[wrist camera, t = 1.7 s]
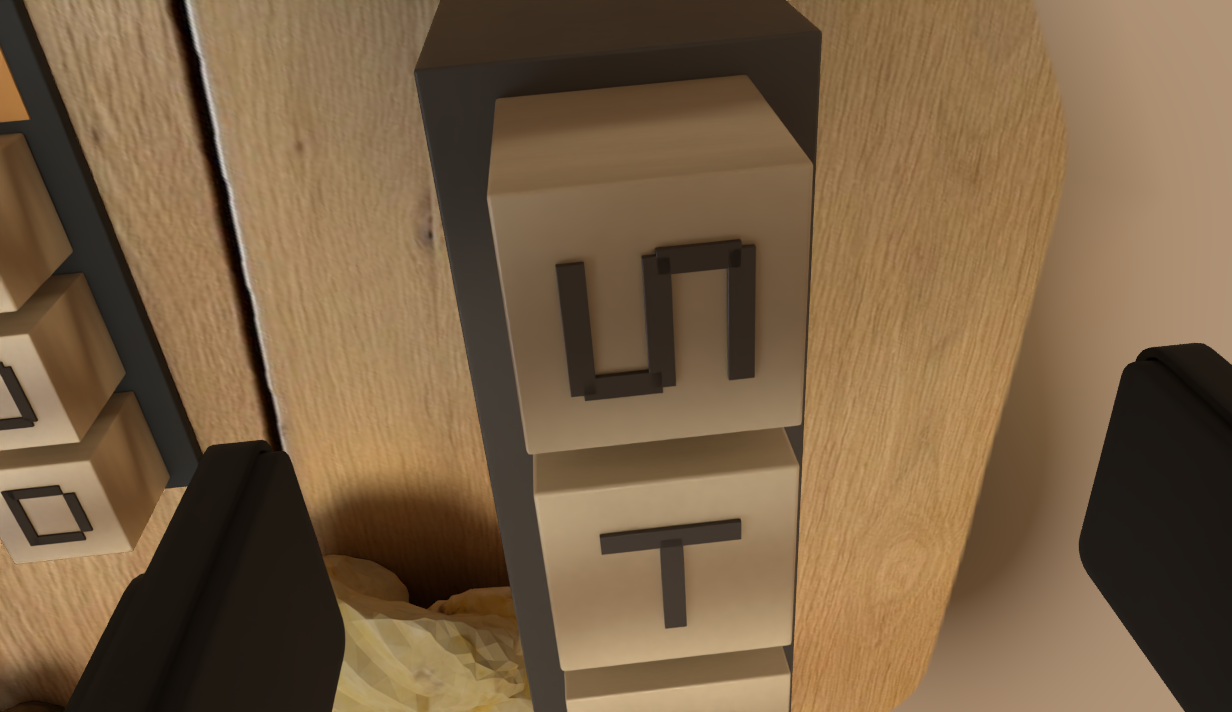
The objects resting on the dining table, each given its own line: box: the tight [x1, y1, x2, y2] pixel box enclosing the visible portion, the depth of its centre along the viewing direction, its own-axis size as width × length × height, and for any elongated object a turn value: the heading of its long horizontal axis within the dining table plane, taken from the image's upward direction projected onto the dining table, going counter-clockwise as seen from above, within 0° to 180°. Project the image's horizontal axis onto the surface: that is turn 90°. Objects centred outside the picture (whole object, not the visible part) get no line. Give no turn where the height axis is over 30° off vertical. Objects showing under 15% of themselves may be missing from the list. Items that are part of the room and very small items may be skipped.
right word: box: [414, 0, 822, 712], centre depth 26 cm, size 21×7×20 cm, turn 4°
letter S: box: [487, 75, 813, 454], centre depth 15 cm, size 4×4×4 cm
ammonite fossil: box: [322, 554, 534, 712], centre depth 41 cm, size 17×11×15 cm
